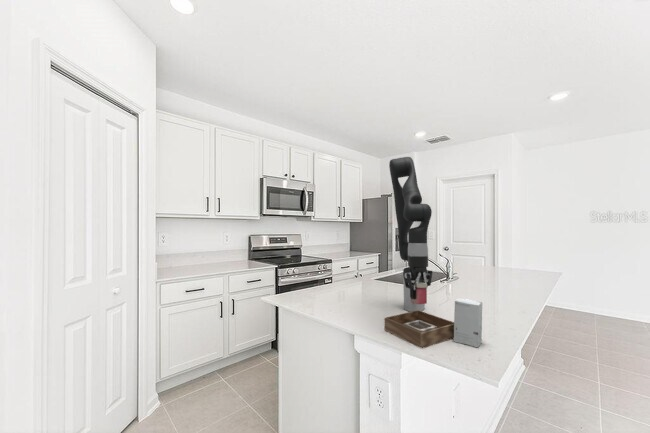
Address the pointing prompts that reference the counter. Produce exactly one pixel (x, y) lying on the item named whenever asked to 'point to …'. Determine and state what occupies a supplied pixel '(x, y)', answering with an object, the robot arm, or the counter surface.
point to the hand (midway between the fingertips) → (418, 297)
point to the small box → (420, 293)
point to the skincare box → (468, 322)
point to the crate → (420, 328)
